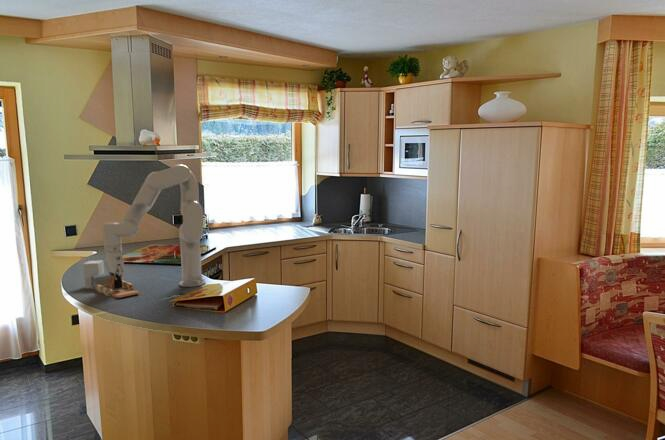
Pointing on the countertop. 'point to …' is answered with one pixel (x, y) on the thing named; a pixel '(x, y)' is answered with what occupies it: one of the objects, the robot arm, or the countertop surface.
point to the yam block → (113, 282)
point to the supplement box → (92, 271)
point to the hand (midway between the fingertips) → (116, 286)
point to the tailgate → (125, 294)
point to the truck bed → (108, 285)
